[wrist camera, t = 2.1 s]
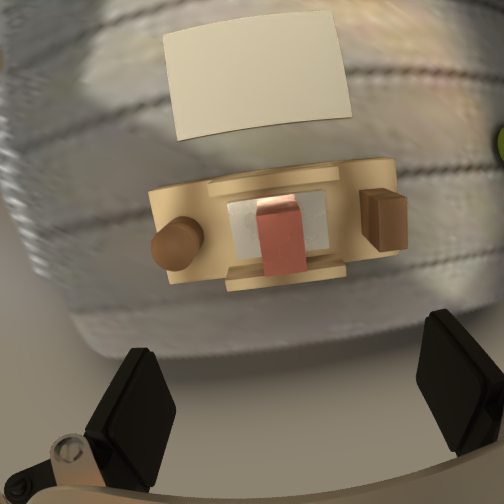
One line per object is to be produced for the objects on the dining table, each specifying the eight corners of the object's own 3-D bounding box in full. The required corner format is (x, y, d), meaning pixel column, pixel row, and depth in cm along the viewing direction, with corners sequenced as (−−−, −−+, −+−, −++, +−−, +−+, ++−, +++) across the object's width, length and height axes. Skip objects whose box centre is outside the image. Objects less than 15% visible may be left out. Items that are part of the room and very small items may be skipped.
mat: (330, 12, 23) (331, 10, 22) (350, 117, 26) (352, 117, 26) (164, 36, 24) (162, 35, 24) (179, 140, 28) (177, 140, 27)
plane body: (385, 157, 27) (419, 163, 20) (389, 246, 30) (420, 275, 23) (157, 187, 29) (125, 202, 22) (176, 273, 32) (153, 309, 25)
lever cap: (321, 188, 26) (337, 201, 20) (327, 243, 28) (341, 270, 22) (228, 200, 27) (217, 217, 21) (238, 255, 29) (230, 285, 23)
